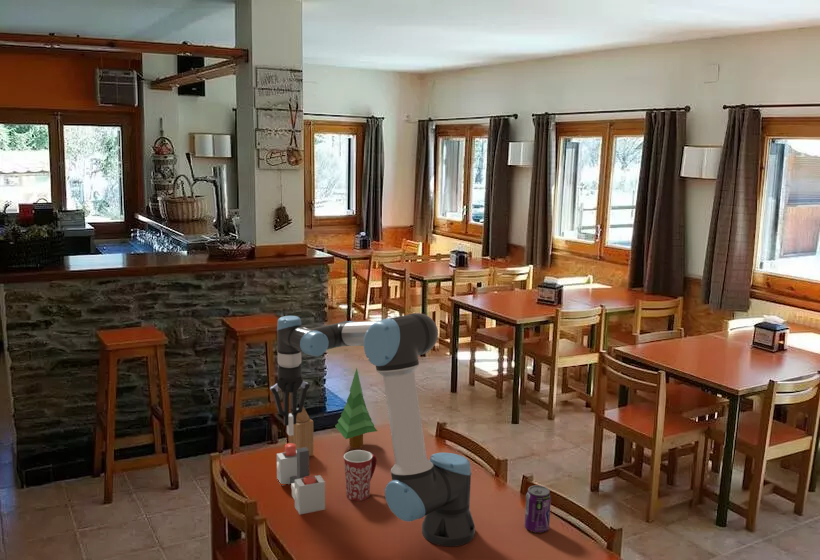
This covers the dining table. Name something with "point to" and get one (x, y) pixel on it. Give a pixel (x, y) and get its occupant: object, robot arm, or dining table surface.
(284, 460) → the far cabinet
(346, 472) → the mug
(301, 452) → the dark grey tall block
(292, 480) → the rail
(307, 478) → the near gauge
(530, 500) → the beverage can
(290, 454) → the red push button
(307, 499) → the near cabinet
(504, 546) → the dining table surface
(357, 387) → the decorative tree
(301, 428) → the decorative item
